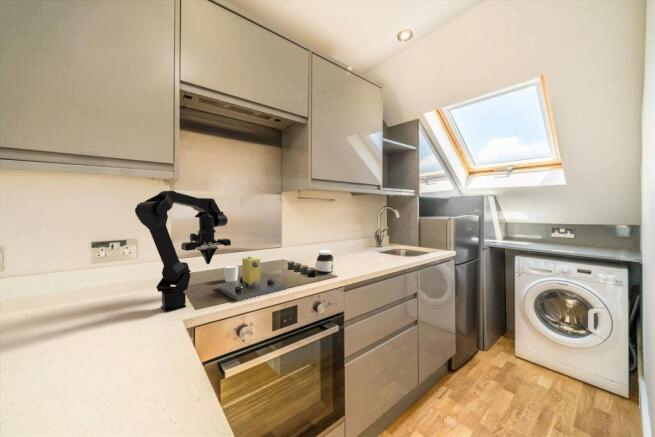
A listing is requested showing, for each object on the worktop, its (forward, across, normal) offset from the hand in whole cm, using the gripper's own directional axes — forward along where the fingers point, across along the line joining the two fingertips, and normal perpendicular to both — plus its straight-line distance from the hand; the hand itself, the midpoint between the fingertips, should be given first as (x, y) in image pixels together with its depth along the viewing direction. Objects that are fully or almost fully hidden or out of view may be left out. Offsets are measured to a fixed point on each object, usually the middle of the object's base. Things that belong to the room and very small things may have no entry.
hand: (207, 264), depth 108 cm
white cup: (+12, -15, -9) cm, 21 cm away
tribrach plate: (+12, -14, +11) cm, 21 cm away
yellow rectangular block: (+8, -14, +11) cm, 20 cm away
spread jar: (+12, -57, +15) cm, 60 cm away
